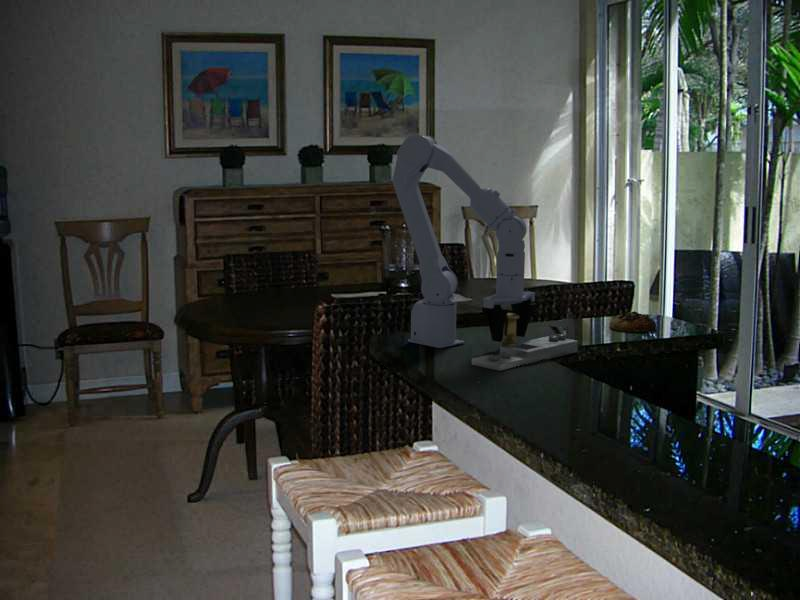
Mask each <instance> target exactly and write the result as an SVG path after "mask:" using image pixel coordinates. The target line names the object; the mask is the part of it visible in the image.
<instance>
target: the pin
mask: <svg viewBox="0 0 800 600" xmlns="http://www.w3.org/2000/svg"><path fill="white" fill-rule="evenodd" d="M519 318H520V315H519V314H516V313H513V312H508V313H507V316H506V319H505V323H504V330H503V338H502V341H501V342H500V346H505V345H509V344H514V343H517V336H516V333H517V319H519Z"/></svg>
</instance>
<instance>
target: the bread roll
mask: <svg viewBox="0 0 800 600" xmlns="http://www.w3.org/2000/svg"><path fill="white" fill-rule="evenodd" d="M608 323H609V327H610V329H613V330H614V331H617V332H622V333H623V332H624V333H643V332H644V333H645V332H647V333H648V332H650V333H651V332H654V331H655V330H656V329H657V323H656V322H655V320H654V319H653V318H651V317H650V316H649V315H647V314H643V313H639V312H637V311H632V312H630V311H629V312H627V313H624V312H623V313H619V314H618V315H616V316H613V318H612V319H611V320H610V322H608Z"/></svg>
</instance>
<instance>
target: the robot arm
mask: <svg viewBox="0 0 800 600" xmlns="http://www.w3.org/2000/svg"><path fill="white" fill-rule="evenodd" d="M427 169H432V170H436V171H439V172H442V173H444V174H445V175H446V176H447V178H449V179H450V180H451V181H452V182H453V183H454V185H456V186H457V188H459V189H460V190H461V191H462V192H463V193H464V194H465V195H466V196H467V197H468V198H469V200H470V202H469V203H470V205H469V207H470V209H471V210H472V211H473V212H474V213H475V214H476V215H477V216H478V217H479V218H480V219H481V220H482V221H483V222H484V223H485V224H486V225H487V227H489V228H490V230H494V232H495V236H496V239H497V241H498V244H497V246H498V249H497V250H498V251H497V252H496V282H495V283H496V284H495V289H496V290H495V294H493V295H490V296H487V297H483V306H481V312H482V313H483V315H484V317H485V319H486V321H487V324H488V327H489V331H490V332H489V333H490V336H491V341H493V342H498V343H501V341H502V338H503V330H504V323H505V319H506V316H507V313H509V309H504V308H503V306H508V305H510V307H511V309H512V313H516V314H519V315H520V318H519V319H517V333H516V337H520V338H525V336H526V333H527V330H528V326H529V323H530V320H531V318H532V316H533V313H534V312H535V310H536V309H537V303H535V299H536V298H535V297H536V296H535V294H536V292H535V291H525V266H526V264H525V263H526V262H525V260H526V259H525V258H526V252H525V247H526V244H525V240H524V238H525V237H526V234H527V230H528V228H527V225H526V222H525V221H524V218H523V217H522V216H521V215H518V214H516V213H517V210H516V209H515V208H510V206H508V204H507V203H505V201H503V200H502V199H501V198H500V196H501V193H500V191H498V190H496V189H495V190H493V189H492V188H491V187H481V185H480V184H479V183H478V182H477V181H476V180H475V179H474V178H473V177H472V175H471V174H470V173H469V172H468V171H467V170H466V169H465V168H464V166H463V165H462V164H461V163H460V162H459V161H458V160H457V159H456V158H455V156H453V154H452V153H451V152H449V151H448V150H447V149H446V148H445V147H444V146H443V145H441V144H439V143H438V142H437V141H436V139H434V137H432V136H431V135H422V134H412V135H409V136H407V137H406V138H405V139H404V141H403V142H402V143H401V145H400V147H399V148H398V150H397V152H396V162H395V166H394V171H393V176H392V185H393V189H394V192H395V194H396V197H397V201H398V203H399V207H400V209H401V212H402V215H403V217H404V220H405V223H406V227H407V229H408V232H409V235H410V237H411V238H410V239H411V241H412V243H413V248H414V250H415V253H416V256H417V258H418V262H419V274H420V277H421V286H420V289H421V294H422V296H423V298H422V299H420V300H418V301H416V302H415V303H414V304H413V306H412V309H411V314H410V339H407V341H408V342H409V343H413V344H418V345H423V346H426V347H427V346H428V347H432V348H437V349H442V348H448V347H451V346H457V344H458V345H462V344H461V343H463V344H465V341H464V340H459V339H457V299H456V298H455V296H454V294H455V292H456V290H457V289H458V286H459V285H458V283H459V282H458V278H457V276H456V274H455V273H454V272H453V271H452V270H451V269H450V267H449V264H448V262H447V260H446V258H445V257H444V256H443V254H442V251H441V248H440V245H439V242H438V239H437V236H436V234H435V230H434V228H433V224H432V222H431V219H430V215H429V213H428V210H427V207H426V204H425V202H424V198H423V195H422V193H421V189H420V186H419V182H420V180H421V178H422V177H423V176H424V173H425V171H426V170H427Z"/></svg>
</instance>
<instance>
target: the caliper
mask: <svg viewBox="0 0 800 600" xmlns="http://www.w3.org/2000/svg"><path fill="white" fill-rule="evenodd" d="M573 316H574V315H573V313H572V312H571V313H570V312H569V313H566V318H561V320H550V322H549V326H550V327H551V328H561V331H565V335H566V339H571V340H574V329H575V328H574V327H575V325H574V318H573Z"/></svg>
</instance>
